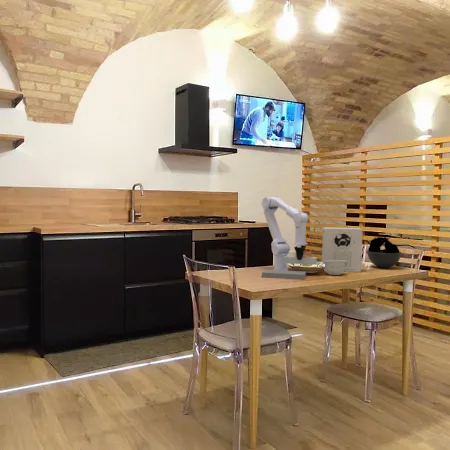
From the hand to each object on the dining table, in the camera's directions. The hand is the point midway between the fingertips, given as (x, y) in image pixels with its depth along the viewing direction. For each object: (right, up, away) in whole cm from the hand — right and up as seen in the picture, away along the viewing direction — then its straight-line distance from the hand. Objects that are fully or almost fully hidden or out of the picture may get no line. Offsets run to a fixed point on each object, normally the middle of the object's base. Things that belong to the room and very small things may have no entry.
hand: (299, 259), depth 260 cm
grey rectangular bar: (0, -2, 0) cm, 2 cm away
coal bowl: (+56, -8, +29) cm, 64 cm away
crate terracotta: (+4, +1, -1) cm, 4 cm away
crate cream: (-4, +1, +1) cm, 4 cm away
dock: (-10, -9, -9) cm, 16 cm away
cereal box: (+27, -8, +15) cm, 32 cm away
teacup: (+21, -9, 0) cm, 22 cm away
